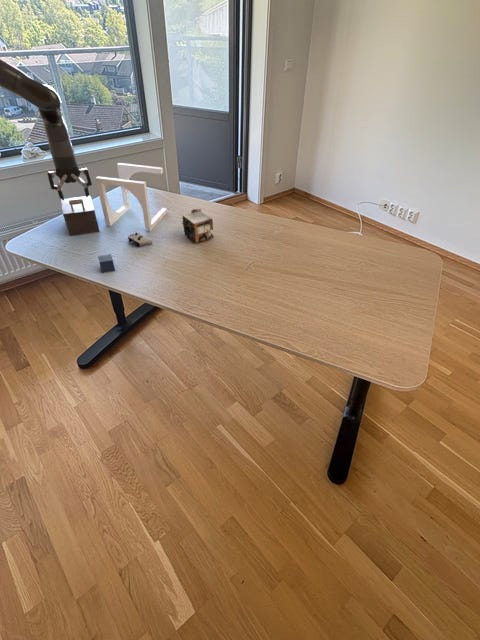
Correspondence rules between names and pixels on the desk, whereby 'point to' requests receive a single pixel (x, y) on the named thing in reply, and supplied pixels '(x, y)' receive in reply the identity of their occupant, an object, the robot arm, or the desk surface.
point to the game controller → (139, 239)
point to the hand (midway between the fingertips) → (75, 198)
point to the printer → (197, 225)
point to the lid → (77, 206)
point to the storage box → (81, 223)
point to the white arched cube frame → (128, 185)
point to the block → (106, 263)
